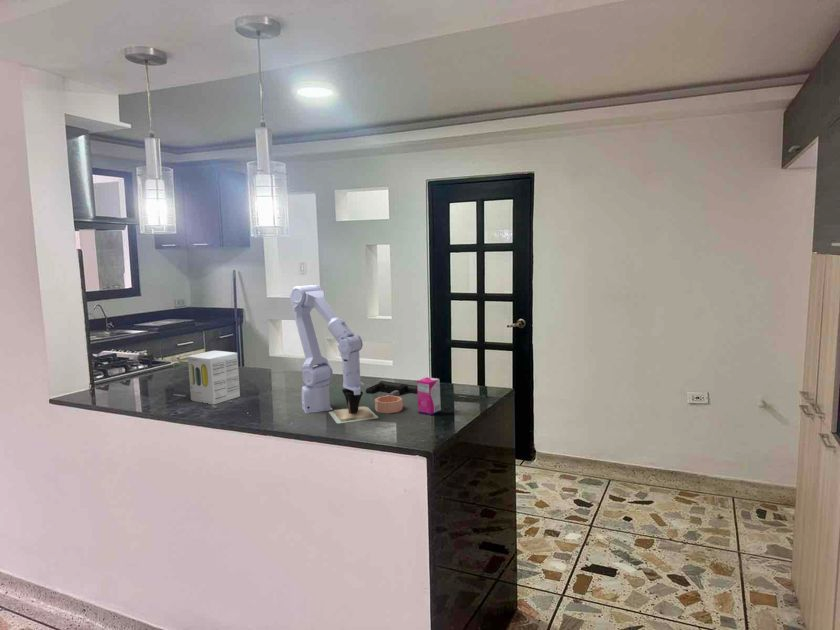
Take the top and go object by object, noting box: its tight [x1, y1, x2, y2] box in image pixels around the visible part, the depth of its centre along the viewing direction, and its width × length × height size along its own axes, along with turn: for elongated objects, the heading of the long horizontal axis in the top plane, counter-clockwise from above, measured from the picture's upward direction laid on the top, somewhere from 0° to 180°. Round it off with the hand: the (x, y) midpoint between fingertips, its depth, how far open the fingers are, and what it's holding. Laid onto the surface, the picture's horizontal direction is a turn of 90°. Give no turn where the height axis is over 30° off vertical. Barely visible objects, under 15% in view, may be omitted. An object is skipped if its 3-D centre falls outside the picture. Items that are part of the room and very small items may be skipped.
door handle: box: [365, 380, 417, 396], centre depth 216 cm, size 3×20×16 cm
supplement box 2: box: [416, 376, 442, 416], centre depth 190 cm, size 6×6×12 cm
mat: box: [328, 406, 379, 424], centre depth 188 cm, size 14×14×1 cm
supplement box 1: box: [187, 350, 241, 405], centre depth 214 cm, size 13×13×18 cm
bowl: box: [374, 395, 404, 414], centre depth 194 cm, size 9×9×4 cm
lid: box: [333, 401, 373, 422], centre depth 188 cm, size 11×11×5 cm
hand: (352, 410), depth 188 cm, fingers closed on lid, 3 cm apart
